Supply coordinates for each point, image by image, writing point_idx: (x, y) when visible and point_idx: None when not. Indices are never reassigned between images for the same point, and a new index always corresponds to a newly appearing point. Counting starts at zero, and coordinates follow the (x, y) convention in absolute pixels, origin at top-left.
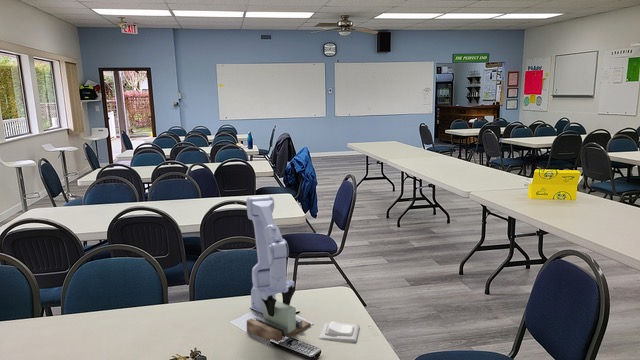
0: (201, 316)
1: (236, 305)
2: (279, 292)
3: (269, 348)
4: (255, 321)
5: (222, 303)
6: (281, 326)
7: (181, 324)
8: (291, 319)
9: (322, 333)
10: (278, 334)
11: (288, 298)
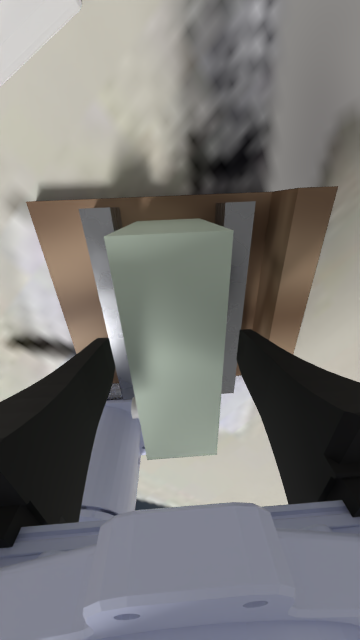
0: (263, 477)
1: (165, 472)
2: (334, 552)
3: (334, 203)
4: None
5: (183, 491)
6: None
7: None
8: (172, 224)
9: (21, 20)
10: (323, 187)
11: (74, 390)
